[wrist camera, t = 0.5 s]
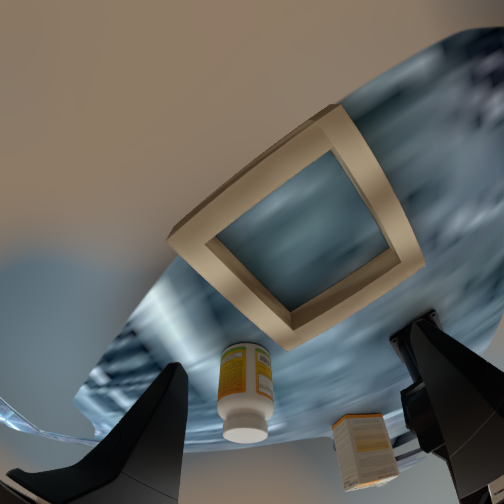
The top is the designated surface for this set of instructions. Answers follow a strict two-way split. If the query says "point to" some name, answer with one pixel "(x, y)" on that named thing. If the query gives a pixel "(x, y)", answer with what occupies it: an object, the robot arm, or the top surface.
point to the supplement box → (364, 451)
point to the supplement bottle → (245, 393)
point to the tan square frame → (266, 181)
